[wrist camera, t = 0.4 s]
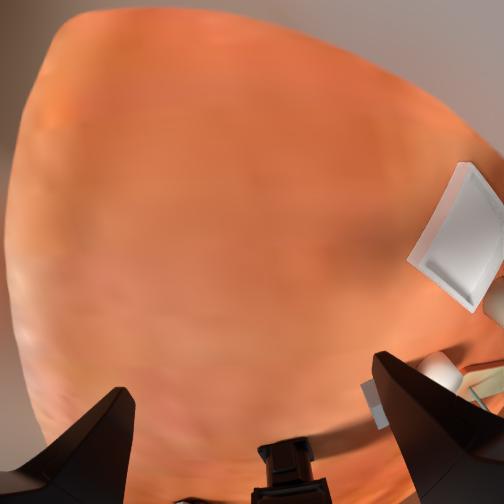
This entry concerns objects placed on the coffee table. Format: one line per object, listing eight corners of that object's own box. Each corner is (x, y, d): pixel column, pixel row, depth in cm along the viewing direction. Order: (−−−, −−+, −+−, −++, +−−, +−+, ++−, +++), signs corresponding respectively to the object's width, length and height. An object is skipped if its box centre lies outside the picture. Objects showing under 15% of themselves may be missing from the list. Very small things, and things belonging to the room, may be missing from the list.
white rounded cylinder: (443, 370, 27) (459, 392, 23) (414, 385, 28) (430, 408, 23) (446, 345, 26) (465, 366, 22) (416, 360, 26) (434, 384, 22)
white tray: (462, 305, 24) (472, 313, 23) (405, 260, 23) (416, 267, 21) (506, 223, 22) (518, 227, 20) (458, 161, 20) (471, 162, 18)
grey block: (404, 388, 28) (417, 409, 24) (368, 406, 28) (378, 430, 25) (399, 363, 26) (414, 385, 23) (359, 383, 27) (370, 408, 23)
